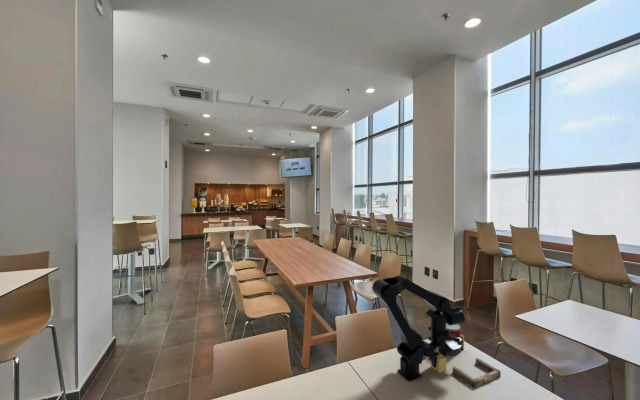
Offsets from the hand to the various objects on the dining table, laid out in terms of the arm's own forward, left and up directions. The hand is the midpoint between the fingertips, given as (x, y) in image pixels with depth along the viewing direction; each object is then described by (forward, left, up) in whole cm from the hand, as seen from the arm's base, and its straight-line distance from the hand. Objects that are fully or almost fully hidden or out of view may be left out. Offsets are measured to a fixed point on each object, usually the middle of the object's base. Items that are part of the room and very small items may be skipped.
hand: (438, 365), depth 103 cm
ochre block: (0, 0, -1) cm, 1 cm away
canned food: (+15, +7, -1) cm, 17 cm away
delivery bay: (+10, -9, -1) cm, 13 cm away
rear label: (+20, +7, -1) cm, 21 cm away
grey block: (-1, +9, -1) cm, 9 cm away
